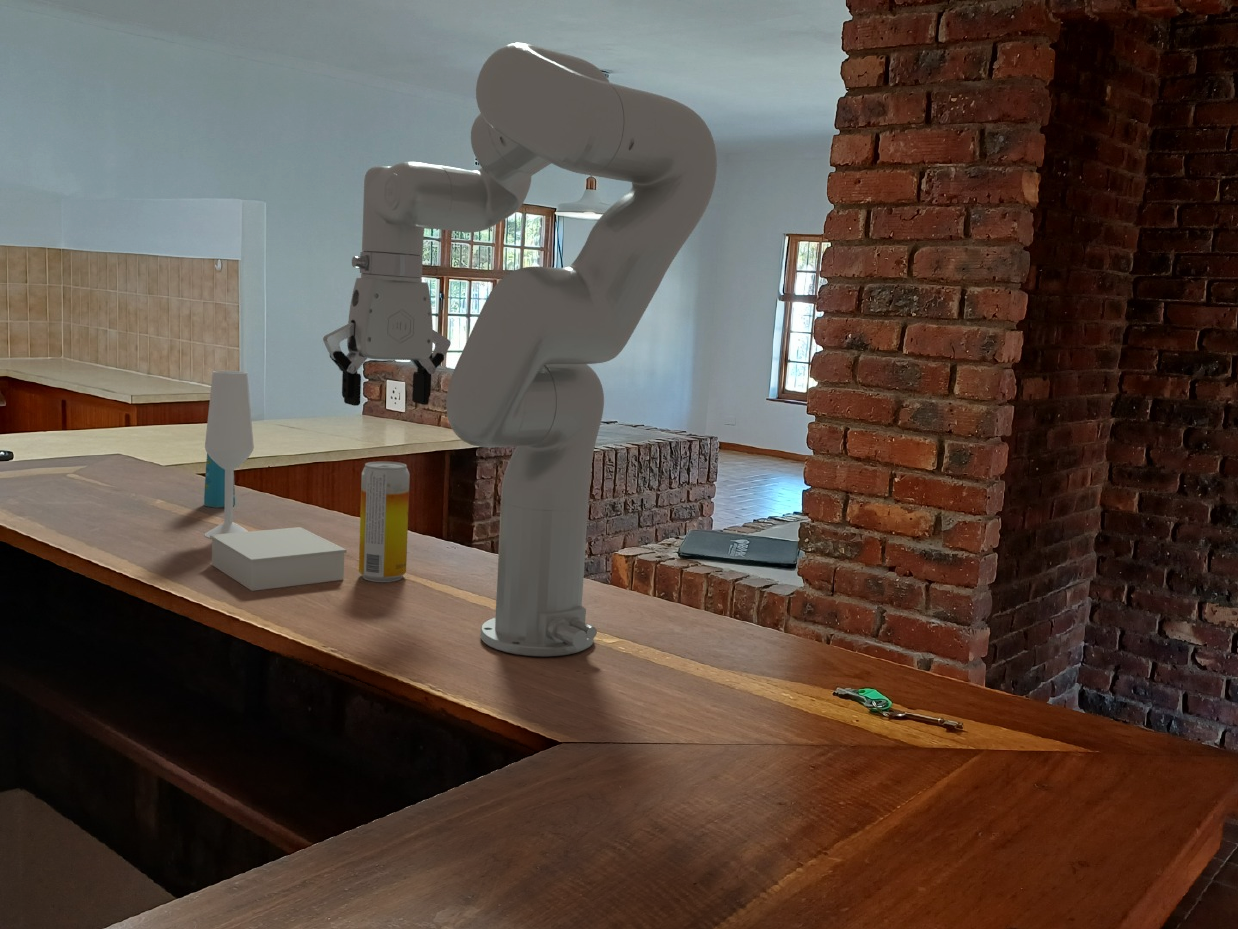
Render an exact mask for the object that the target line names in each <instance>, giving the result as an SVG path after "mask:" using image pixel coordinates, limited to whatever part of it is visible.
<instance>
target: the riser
mask: <svg viewBox="0 0 1238 929" xmlns="http://www.w3.org/2000/svg"><path fill="white" fill-rule="evenodd" d="M209 539H211V566H213V567H215V568H216V569H218V570H219V571H221V572H222V573H224V574H225V575H227V576H229V577H230V578H231V579H233V580H235V581H236V582H238V584H241V585H242V586H244V587H245V588H247V589H248V590H250V591H252V592H254V591H263V590H271V589H279V588H286V587H287V588H288V587H295V586H302V585H312V584H319V583H320V584H321V583H326V582H328V583H329V582H334V581H342V580H343V581H344V580H345V579H344V577H345V576H344V574H345V573H344V572H345V570H344V569H345V554H346V553H347V549H346V548H343V547H341V546H340V545H337V544H336V543H333V542H332V541H330V540H327V539H325V538H324V537H321V536H319V534H318V535H317V534H316V533H313V532H312V531H310V530H307V529H305V528H303V527H301V526H298V527H297V526H296V527H288V528H287V527H285V528H276V529H264V530H263V529H262V530H252V531H250V530H249V532H239V533H228V534H216V535H210V538H209Z"/></svg>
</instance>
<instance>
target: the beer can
mask: <svg viewBox="0 0 1238 929" xmlns="http://www.w3.org/2000/svg"><path fill="white" fill-rule="evenodd" d="M360 481H361V487H360V488H361V489H360V514H359V515H360V519H359V520H360V521H359V549H358V550H359V551H358V552H359V557H358V573H359V574H361V576H362V578H363V579H364V580H366V581H369V582H375V583H392V582H397V581H400V580H402V579H403V575H405V574H406V572H407V561H408V560H407V559H408V558H407V555H408V554H407V553H408V531H409V530H408V527H409V504H410V503H409V501H410V500H409V499H410V471H409V469H408V465H407V464H406V463H403V462H399V461H398V462H397V461H386V460H385V461H384V460H383V461H369V462H365V463H364V467H363V469H362V471H361V480H360Z"/></svg>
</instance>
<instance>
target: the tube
mask: <svg viewBox="0 0 1238 929" xmlns="http://www.w3.org/2000/svg"><path fill="white" fill-rule="evenodd" d="M234 470H235V469H234ZM234 470H233V506H234V505H236V491H235V490H236V488H235V474H234V473H235V471H234ZM203 499H204V500H203V504H204V506H206V507H209V508H215V509H216V508H219V509H220V508H225V469H223V468H221V467H220V466H219V465H218V464H216V463H215V462H214V461H213V460H212V459H211V458H210V456H209V455H208V453H207V452H206V463H205V478H204V496H203Z"/></svg>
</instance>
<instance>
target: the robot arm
mask: <svg viewBox="0 0 1238 929" xmlns="http://www.w3.org/2000/svg"><path fill="white" fill-rule="evenodd" d="M475 99H476V103H477V107H478V110H479V114H478V116H476V117H475V119H474V121H473V123H472V125H471V130H470V144H471V149H472V151H473V155H474V156H475V158H476V160H477V162H478V164H479V166H480V167H481V168H478V169H476V170H469V169H465V168H464V169H463V168H459V167H452V166H447V165H446V166H445V165H440V164H432V163H431V164H430V163H425V162H417V161H405V162H400V163H396V164H395V165H391V166H390V165H389V166H388V165H387V166H386V165H383V166H381V165H380V166H373V167H370V168H369V169H368V170H367V171H366V173H365V175H364V182H363V183H364V184H363V205H362V206H363V208H362V213H363V214H362V239H361V240H362V242H361V251H360V255H359V256H352V258H351V266H352V268H358V270H359V273H360V277H356V278H355V282H354V286H353V290H352V295H351V299H350V305H349V312H348V313H349V314H348V319H347V320H348V322H347V324H346V325H343V326H341V327H339V328H336V330H333V331H332V332H330V333H327V334H326V335H324V336H323V338H322V340H323V343H324V345H325V348H326V349H327V352H328V354H329V358H330V359H331V361H333V363H334V364H335V365H336V366H337V367H338V370H339V371H341V372H342V376H341V377H342V378H341V396H342V398H343V401H344V403H345V404H347V405H351V406H360V404H361V391H362V387H361V386H362V375H361V373H358V370H360V368H361V367H362V365H363V364H364V363H365V362H366V361H367V359H371V360H389V361H411V362H412V363H413V366H415V367H416V368H415V369H416V370H417V371H414V372H413V375H412V396H411V397H412V399H411V400H412V402H413V403H416V404H420V405H423V406H425V405H428V404H429V401H430V399H429V398H430V397H431V393H432V392H431V390H432V375H433V374H435V373H436V371H437V368H438V367H439V366H440V365H441V364H442V363H443V362H444V360H445V356H446V355H447V352H448V350H449V348H450V347H451V345H452V344H451V340H450V339H449V338H447V337H445V336H444V335H442V334H441V333H440V332H438V331H436V330H434V328H433V325H434V324H433V309H432V301H431V300H432V299H431V292H430V288H429V283H428V282H423V258H424V257H423V256H424V239H425V238H424V237H425V233H424V232H425V229H428V230H443V231H448V232H457V233H458V232H459V233H470V234H471V233H477V232H483V231H486V230H488V229H490V228H493V227H494V226H496V225H498V224H499V223H502V222H503V221H504V220H507V219H508V218H510V217H511V216H513V215H514V214H515V213H516V212H518V211H519V210H520V208H521V207H522V206H523V205H524V202H525V200H526V199H527V196H528V193H529V191H530V188H531V182H532V176H534V175H536V174H537V173H538V172H540V171H542V170H544V169H545V168H547V167H548V166H550V165H551V164H552V165H553V166H554V165H555V166H557V167H559V168H560V169H563V170H566V171H570V172H572V173H576V174H579V175H587V176H594V177H599V178H604V179H609V180H616V181H622V182H629V183H631V185H632V186H631V189H630V190H629V191H628V192H627V193H625V195H623V196H622V197H621V198H620V199H619V200H617V201H616V202H615V203H613V204H612V205H611V206H609V208H608V209H607V210H606V211H605V212H604V213H603V214H601V216H600V217H599V218H598V219H597V221H596V222H595V223H594V225H593V227H592V229H591V230H590V232H589V234H588V237H587V239H586V241H585V242H584V245H583V247H582V248H581V250H580V252H579V253H578V255H577V257H576V258H575V259H574V260H573V262H572V263H571V264H569V265H568V266H566V267H552V266H551V267H550V266H525V267H521V268H518V269H515V270H512V271H511V272H509V273H508V274H506V275H505V276H503V278H501V279H500V280H499V281H498V282H497V283H496V284H495V285H494V287H493V288H492V289H491V291H490V292H489V294H488V296H487V298H486V300H485V302H484V304H483V306H482V308H481V310H480V312H479V315H478V316H477V319H476V321H475V323H474V326H473V328H472V330H471V332H470V334H469V336H468V338H467V341H466V343H465V345H464V348H463V349H462V351H461V354H460V356H459V358H458V361H457V363H456V365H455V368H454V370H453V372H452V374H451V378H450V380H449V381H450V382H449V384H448V388H447V394H446V400H445V401H446V404H445V405H446V406H445V407H446V415H447V419H448V423H449V426H450V428H451V430H452V431H453V433H454V434H455V435H456V436H457V437H458V438H459V439H460V440H461V441H463V442H464V443H466V444H468V445H471V446H474V447H478V448H506V447H507V448H509V447H515V449H514V450H513V452H512V454H511V457H510V459H509V460H508V464H507V466H506V468H505V471H504V474H503V479H502V482H501V483H502V486H501V496H500V500H501V501H500V512H499V513H500V514H499V536H498V537H499V538H498V555H497V557H498V558H497V559H498V560H497V576H496V577H497V579H496V580H497V581H496V597H495V598H496V601H495V617H493V618H490V619H488V620H487V621H485V622H484V623H482V625H481V626H480V635H479V637H480V639H481V641H483V643H484V644H486V645H487V646H489V647H490V648H493V649H495V650H498V651H501V652H503V653H509V654H513V655H519V656H524V657H525V656H526V657H559V656H560V657H561V656H568V655H572V654H576V653H577V654H578V653H580V652H582V651H585V650H587V649H588V648H590V647H591V646H592V645H593V644H594V641H595V639H594V638H595V637H596V636H597V633H598V630H597V628H596V627H595V626H593V625H591V624H589V623H586V616H587V613H586V612H587V607H585V606H583V593H584V577H585V564H586V563H585V562H586V561H585V560H586V545H587V529H588V528H587V526H588V515H589V514H588V513H589V512H588V511H589V510H588V509H589V500H590V499H589V498H590V487H591V486H590V484H591V473H592V472H591V471H592V466H593V465H592V463H593V457H594V452H595V451H594V450H595V447H596V442H597V438H598V434H599V432H600V427H601V424H602V418H603V414H604V407H605V396H604V388H603V384H602V382H601V380H600V378H599V376H598V374H597V373H596V372H595V370H594V369H593V368H592V367H591V366H590V365H594V364H596V365H597V364H604V363H608V362H610V361H611V360H614V359H615V358H617V356H619V354H621V352H622V351H623V349H624V348H625V347H626V345H627V344H628V342H629V340H630V339H631V337H632V335H633V334H634V332H635V330H636V329H637V326H638V324H639V322H640V320H641V319H642V317H643V315H644V314H645V312H646V310H647V308H648V307H649V305H650V303H651V301H652V299H653V297H654V295H655V294H656V292H657V291H658V289H659V287H660V285H661V282H662V281H663V279H664V277H665V275H666V273H667V271H668V270H669V268H670V267H671V264H672V263H673V260H674V259H675V258H676V257H677V255H678V253H679V252H680V250H681V249H682V247H684V246H683V245H685V243H686V242H687V240H688V239H689V237H690V236H691V234H692V233H693V232H694V230H695V228H696V227H697V226H698V224H699V222H700V220H701V219H702V217H703V216H704V214H705V212H706V210H707V209H708V208H707V207H708V205H709V204H710V201H711V198H712V195H713V192H714V188H715V185H716V178H717V170H718V169H717V166H718V162H717V160H718V159H717V150H716V144H715V140H714V137H713V135H712V133H711V130H710V128H709V127H708V125H707V124H706V122H705V121H704V119H703V118H702V117H701V116H700V114H698V113H697V112H696V111H694V110H693V109H692V108H690V107H688V106H687V105H685V104H683V103H681V102H679V101H677V100H675V99H672V98H670V97H667V96H663V95H660V94H656V93H653V92H649V91H644V90H641V89H635V88H632V87H627V86H623V85H620V84H616V83H612V82H610V80H609V79H608V78H607V76H606V75H605V73H604V72H602V70H601V69H600V68H598V67H597V66H596V65H595V64H593V63H591V62H590V61H588V60H586V59H582V58H580V57H579V56H578V57H577V56H575V55H572V54H571V55H570V54H566V53H562V52H560V51H556V50H552V49H549V48H544V47H541V46H538V45H537V46H536V45H533V44H530V43H525V42H524V43H523V42H515V43H510V44H509V43H508V44H506V45H504V46H501V47H499V48H498V49H497V50H495V51H494V52H493V53H491V55H490V56H489V57H487V59H486V61H485V62H484V64H483V65H482V67H481V69H480V70H479V73H478V76H477V80H476V87H475ZM345 340H347V341H346V344H347V345H346V346H347V351H348V353H347V354H346V353H345V352H343V351H342V349H341V346H340V344H341V342H342V341H345ZM433 344H434V346H433ZM433 347H434V349H433Z"/></svg>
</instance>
